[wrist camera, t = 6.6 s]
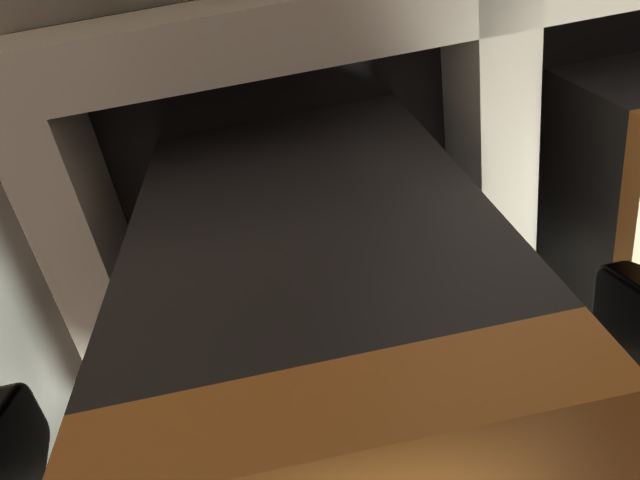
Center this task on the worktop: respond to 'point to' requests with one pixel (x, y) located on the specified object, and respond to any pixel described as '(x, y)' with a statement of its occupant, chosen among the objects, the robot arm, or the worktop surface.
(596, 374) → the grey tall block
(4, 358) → the worktop surface
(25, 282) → the worktop surface
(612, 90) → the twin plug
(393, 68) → the two-cubby shelf
